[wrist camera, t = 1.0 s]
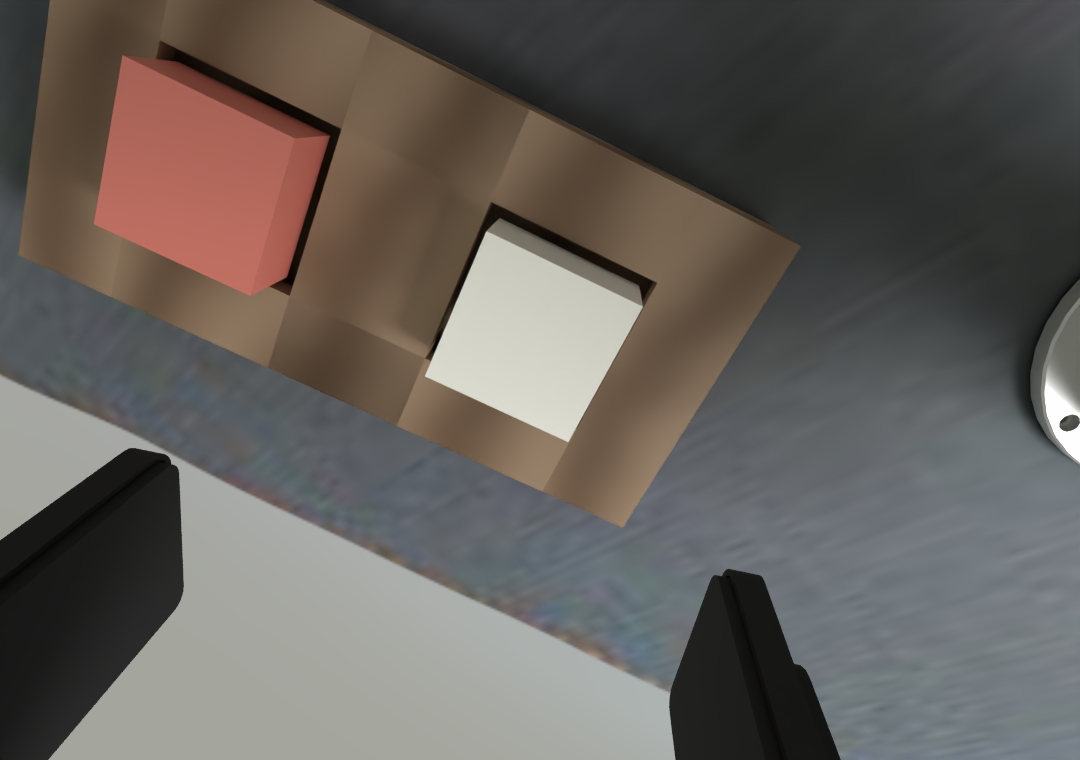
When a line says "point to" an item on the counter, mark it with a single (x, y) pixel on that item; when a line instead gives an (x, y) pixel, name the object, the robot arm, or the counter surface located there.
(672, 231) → the panel
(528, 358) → the white key
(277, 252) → the red key
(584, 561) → the counter surface
